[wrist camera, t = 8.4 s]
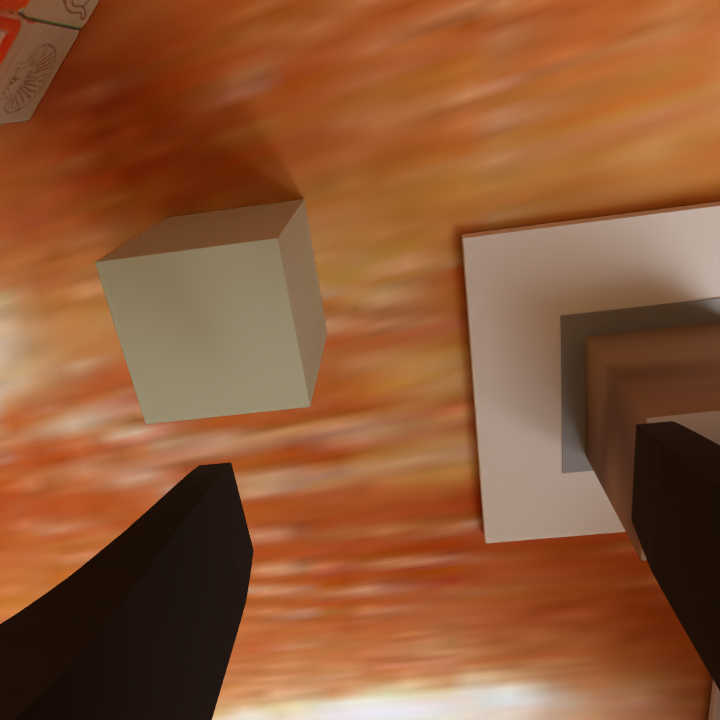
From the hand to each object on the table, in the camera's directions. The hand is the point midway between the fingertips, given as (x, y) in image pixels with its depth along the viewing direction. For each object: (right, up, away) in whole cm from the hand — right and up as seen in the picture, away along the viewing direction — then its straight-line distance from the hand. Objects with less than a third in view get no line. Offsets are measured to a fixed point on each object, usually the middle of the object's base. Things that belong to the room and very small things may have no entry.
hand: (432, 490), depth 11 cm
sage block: (-5, +5, +8) cm, 11 cm away
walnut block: (+8, +1, +8) cm, 12 cm away
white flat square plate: (+8, +2, +9) cm, 12 cm away
